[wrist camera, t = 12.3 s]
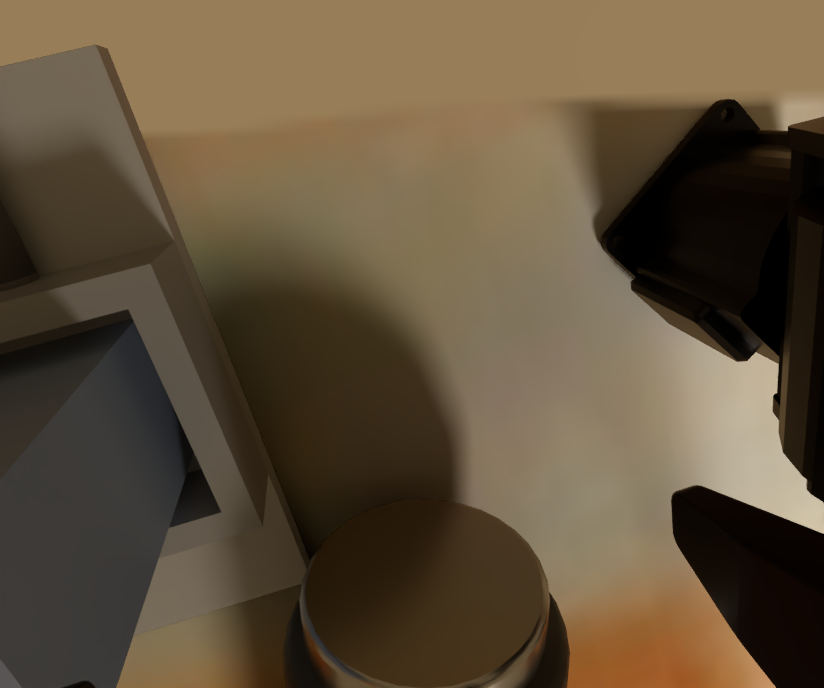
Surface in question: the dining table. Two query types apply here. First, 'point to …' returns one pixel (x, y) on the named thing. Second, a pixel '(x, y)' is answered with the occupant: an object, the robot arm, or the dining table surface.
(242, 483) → the end holder
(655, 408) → the dining table surface
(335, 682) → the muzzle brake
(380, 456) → the dining table surface
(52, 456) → the orange-capped square pillar
